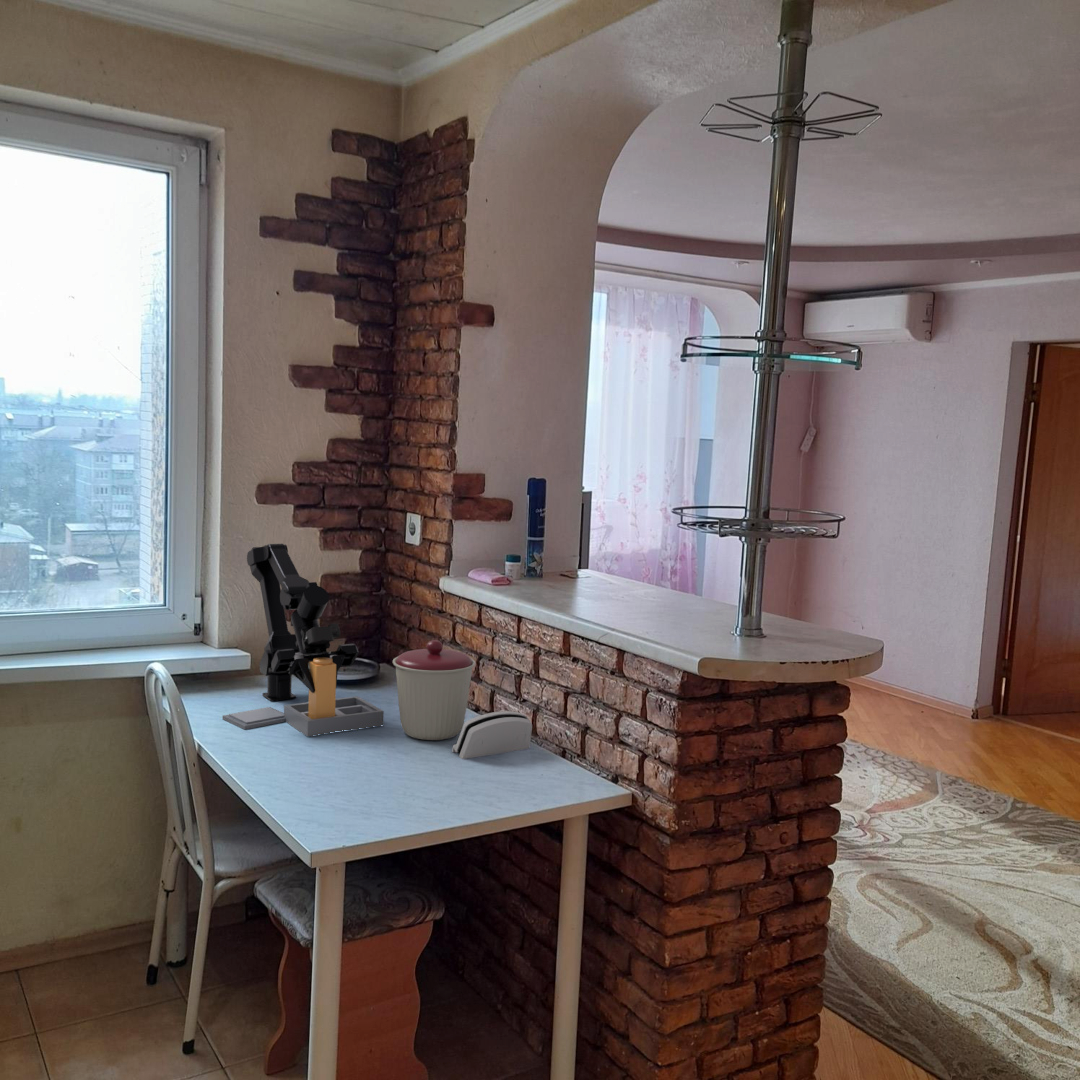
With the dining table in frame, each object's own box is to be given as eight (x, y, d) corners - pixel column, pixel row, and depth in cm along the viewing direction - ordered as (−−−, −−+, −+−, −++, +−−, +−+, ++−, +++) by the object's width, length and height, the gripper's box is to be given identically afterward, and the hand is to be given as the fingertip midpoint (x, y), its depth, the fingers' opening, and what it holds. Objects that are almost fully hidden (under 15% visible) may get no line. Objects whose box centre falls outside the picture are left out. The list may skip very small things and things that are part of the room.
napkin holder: (518, 741, 225) (528, 703, 221) (528, 754, 222) (538, 716, 218) (450, 752, 216) (459, 712, 212) (459, 765, 213) (469, 725, 209)
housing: (283, 720, 234) (284, 705, 233) (357, 710, 244) (357, 696, 244) (307, 737, 222) (307, 721, 222) (383, 726, 233) (383, 710, 232)
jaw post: (308, 716, 229) (309, 658, 228) (327, 714, 232) (328, 656, 230) (315, 722, 225) (316, 662, 224) (335, 719, 228) (336, 660, 226)
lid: (222, 719, 233) (222, 713, 233) (270, 710, 241) (270, 705, 241) (244, 729, 226) (244, 724, 226) (292, 720, 234) (292, 715, 234)
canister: (410, 718, 239) (412, 629, 237) (483, 727, 235) (487, 636, 232) (377, 740, 222) (379, 644, 220) (456, 750, 217) (459, 652, 215)
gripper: (276, 614, 224) (292, 675, 216) (356, 608, 234) (375, 667, 226) (264, 642, 232) (279, 702, 224) (342, 636, 242) (360, 693, 234)
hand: (324, 690), depth 227 cm, fingers closed on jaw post, 4 cm apart
